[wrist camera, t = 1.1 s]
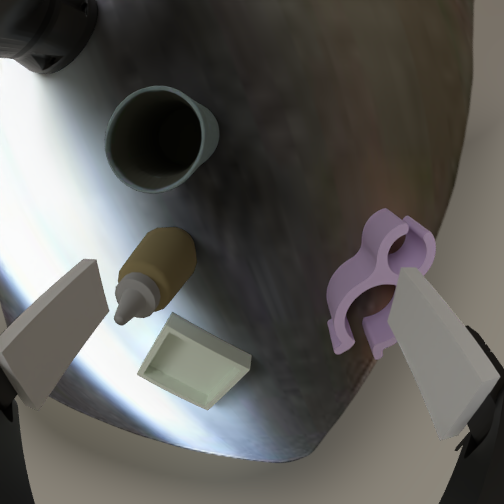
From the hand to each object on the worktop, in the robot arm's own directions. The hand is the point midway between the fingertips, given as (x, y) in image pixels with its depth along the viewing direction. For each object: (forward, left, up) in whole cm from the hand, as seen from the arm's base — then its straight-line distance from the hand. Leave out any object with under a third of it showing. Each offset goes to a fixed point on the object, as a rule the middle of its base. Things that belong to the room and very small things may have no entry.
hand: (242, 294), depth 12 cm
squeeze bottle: (-5, -14, -27) cm, 31 cm away
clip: (+21, -2, -27) cm, 34 cm away
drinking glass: (-11, 0, -27) cm, 29 cm away
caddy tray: (+7, -32, -27) cm, 42 cm away
